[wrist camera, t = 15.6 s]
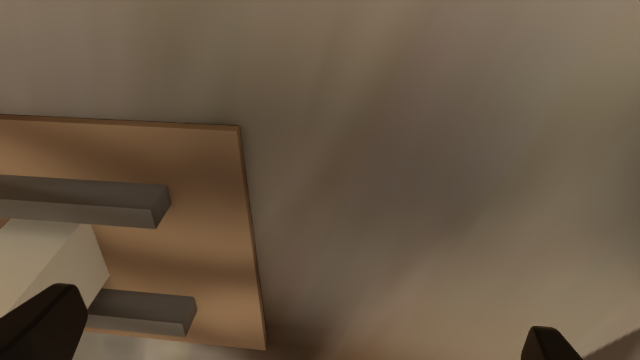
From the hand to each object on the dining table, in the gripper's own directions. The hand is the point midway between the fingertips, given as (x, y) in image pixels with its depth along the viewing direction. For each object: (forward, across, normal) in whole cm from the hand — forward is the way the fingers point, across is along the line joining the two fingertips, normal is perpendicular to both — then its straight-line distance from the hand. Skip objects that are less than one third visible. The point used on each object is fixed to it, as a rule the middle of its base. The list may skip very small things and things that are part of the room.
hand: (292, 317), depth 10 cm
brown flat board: (+13, +16, +11) cm, 23 cm away
